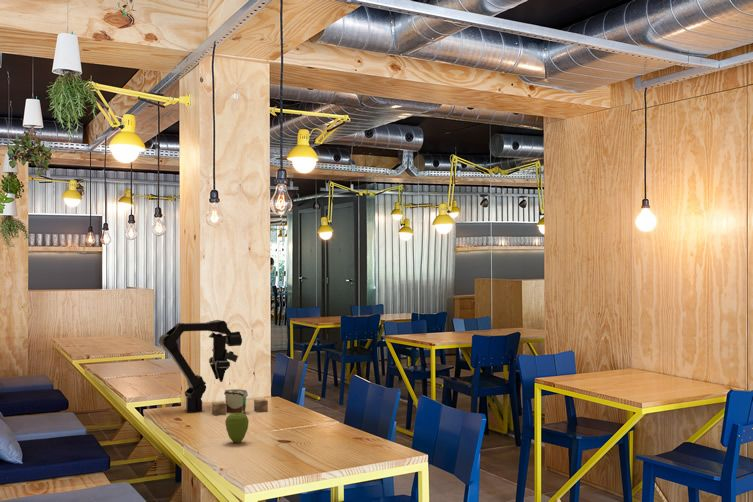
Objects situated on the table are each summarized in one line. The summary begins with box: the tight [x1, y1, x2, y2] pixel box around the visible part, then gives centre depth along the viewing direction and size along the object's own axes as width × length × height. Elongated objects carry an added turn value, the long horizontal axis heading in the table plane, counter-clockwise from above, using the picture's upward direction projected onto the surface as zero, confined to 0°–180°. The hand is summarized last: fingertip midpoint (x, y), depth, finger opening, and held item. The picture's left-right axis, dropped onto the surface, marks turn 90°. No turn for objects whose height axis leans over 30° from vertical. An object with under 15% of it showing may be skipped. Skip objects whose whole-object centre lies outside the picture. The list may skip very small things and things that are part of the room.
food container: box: [223, 388, 249, 415], centre depth 325 cm, size 12×6×10 cm, turn 58°
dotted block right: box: [253, 398, 269, 413], centre depth 328 cm, size 5×5×5 cm
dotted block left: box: [211, 401, 227, 417], centre depth 321 cm, size 5×5×5 cm
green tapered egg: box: [224, 413, 250, 444], centre depth 268 cm, size 9×8×12 cm
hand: (219, 380), depth 335 cm, fingers open, 9 cm apart
